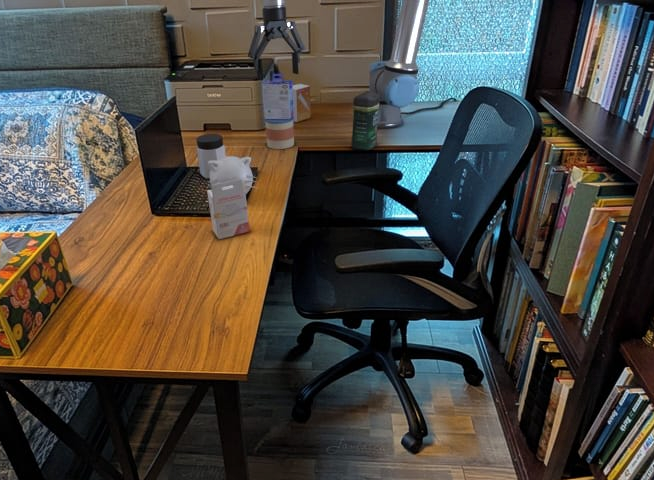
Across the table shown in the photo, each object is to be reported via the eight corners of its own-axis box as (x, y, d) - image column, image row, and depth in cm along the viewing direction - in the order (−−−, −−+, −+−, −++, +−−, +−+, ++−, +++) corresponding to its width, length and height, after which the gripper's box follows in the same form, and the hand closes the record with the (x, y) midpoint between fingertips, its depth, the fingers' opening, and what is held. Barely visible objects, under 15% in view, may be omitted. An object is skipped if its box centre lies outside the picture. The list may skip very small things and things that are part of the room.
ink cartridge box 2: (294, 115, 178) (292, 72, 170) (291, 120, 174) (289, 76, 166) (267, 115, 180) (264, 72, 172) (263, 119, 176) (260, 76, 168)
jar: (229, 168, 165) (225, 132, 158) (226, 178, 158) (222, 141, 151) (202, 169, 165) (197, 133, 159) (198, 179, 158) (192, 142, 152)
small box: (297, 122, 203) (296, 89, 196) (286, 119, 207) (285, 87, 200) (311, 117, 208) (310, 85, 201) (300, 115, 212) (299, 83, 205)
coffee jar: (369, 152, 171) (372, 97, 161) (348, 149, 175) (349, 95, 165) (380, 144, 178) (383, 90, 168) (359, 141, 182) (361, 88, 171)
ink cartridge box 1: (243, 224, 132) (238, 171, 124) (250, 232, 128) (244, 178, 120) (212, 231, 129) (204, 178, 121) (218, 240, 125) (210, 185, 117)
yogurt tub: (286, 137, 188) (285, 111, 183) (300, 145, 181) (299, 118, 175) (261, 143, 184) (259, 116, 179) (274, 151, 177) (273, 123, 171)
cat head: (256, 185, 152) (252, 146, 146) (261, 203, 141) (258, 162, 135) (206, 191, 150) (201, 152, 144) (208, 209, 140) (202, 168, 133)
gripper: (301, 1, 165) (304, 69, 177) (233, 9, 156) (240, 80, 168) (313, 3, 160) (315, 72, 171) (243, 11, 150) (250, 84, 162)
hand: (278, 76), depth 170 cm, fingers open, 13 cm apart
